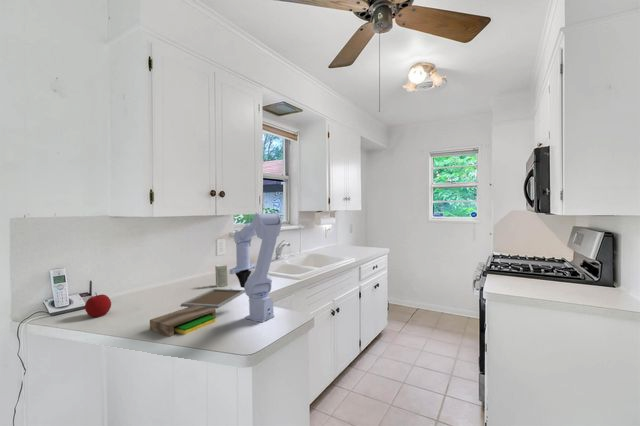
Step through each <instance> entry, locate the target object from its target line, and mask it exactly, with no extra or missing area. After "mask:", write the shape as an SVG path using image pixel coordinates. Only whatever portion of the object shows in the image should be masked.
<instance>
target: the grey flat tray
mask: <svg viewBox="0 0 640 426" xmlns="http://www.w3.org/2000/svg"><path fill="white" fill-rule="evenodd" d="M243 294H245V289H233V288H229V289H228V288H227V289H226V288H212V289H210V290H208V291H206V292H204V293H202V294H199V295H197V296H195V297H192V298H191V299H188V300H185V301H184V302H182V303H181V305H180V306H181V307H191V306H194V305H200V306H204V307H209V308H214V309H220V308H221V307H222V306H224V305H226V304H228V303H229V302H231V301H232V300H234V299H236V298H238V297H240V296H242V295H243Z"/></svg>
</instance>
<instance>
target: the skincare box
mask: <svg viewBox="0 0 640 426" xmlns="http://www.w3.org/2000/svg"><path fill="white" fill-rule="evenodd" d="M228 282H229V281H228V264H218V265H215V286H216V288H220V287H228V284H229V283H228Z"/></svg>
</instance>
